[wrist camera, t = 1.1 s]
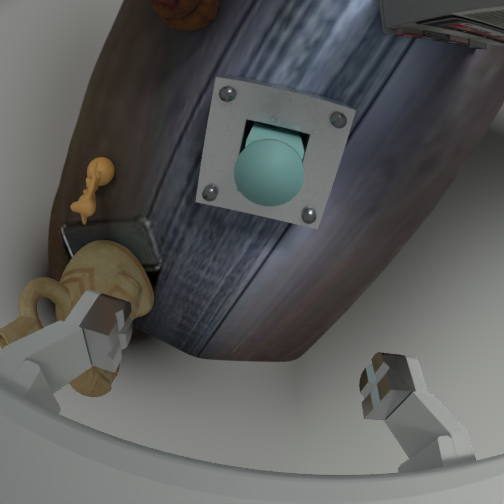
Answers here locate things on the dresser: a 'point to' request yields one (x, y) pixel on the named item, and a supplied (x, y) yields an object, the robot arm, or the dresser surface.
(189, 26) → the wooden figurine
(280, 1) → the dresser surface
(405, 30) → the cassette tape recorder
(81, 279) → the ceramic vessel
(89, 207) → the figurine
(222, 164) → the housing
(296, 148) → the cover plug
